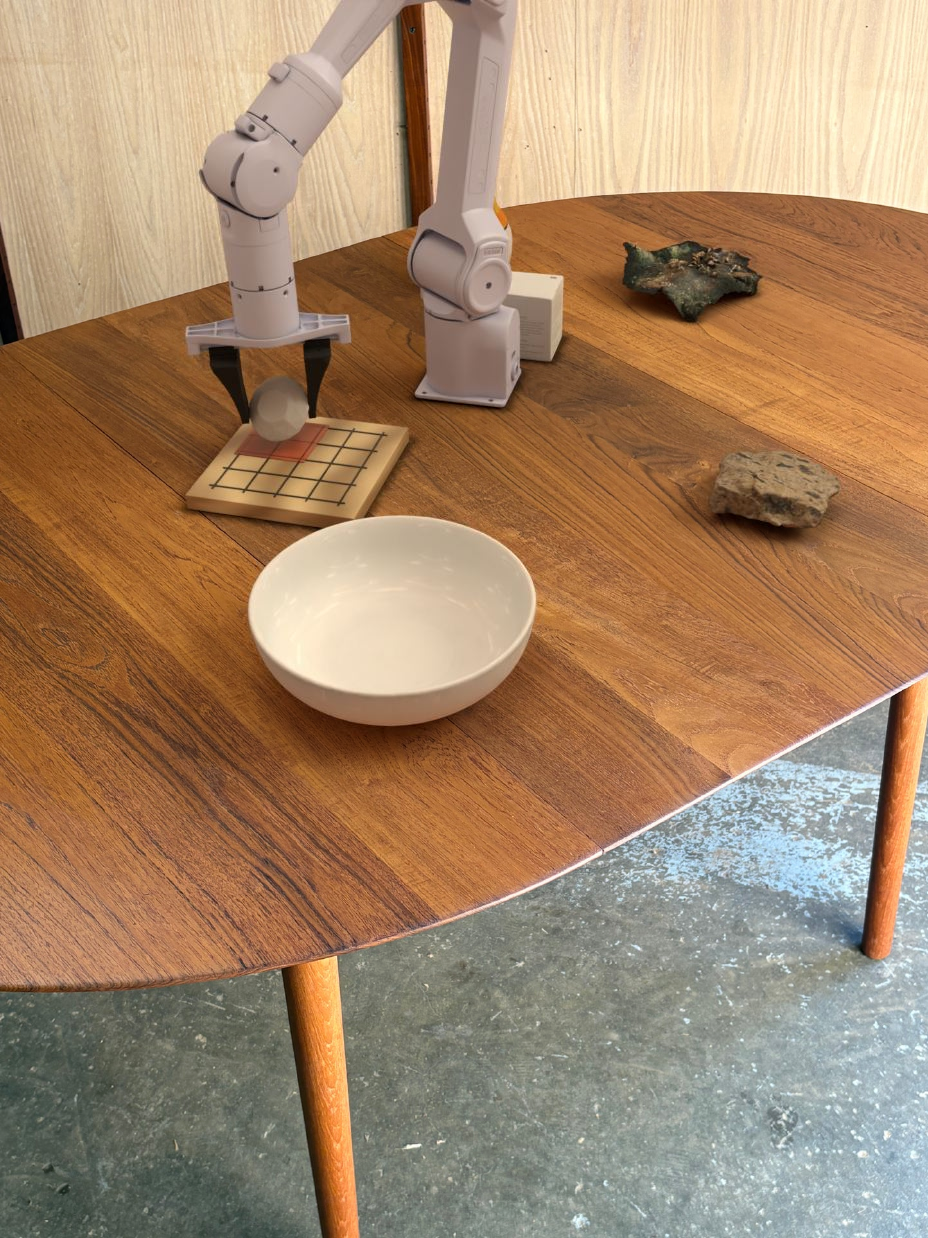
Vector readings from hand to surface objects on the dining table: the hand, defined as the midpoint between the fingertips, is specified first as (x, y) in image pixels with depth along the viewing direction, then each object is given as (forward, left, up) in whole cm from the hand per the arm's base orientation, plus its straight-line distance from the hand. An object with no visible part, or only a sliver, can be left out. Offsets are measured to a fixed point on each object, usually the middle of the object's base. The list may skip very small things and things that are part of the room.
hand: (279, 415), depth 114 cm
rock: (-46, -2, -4) cm, 46 cm away
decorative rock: (-33, -47, -4) cm, 58 cm away
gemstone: (0, 0, -2) cm, 2 cm away
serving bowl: (-20, +27, -4) cm, 34 cm away
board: (-3, +3, -4) cm, 6 cm away
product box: (-18, -27, -4) cm, 33 cm away
